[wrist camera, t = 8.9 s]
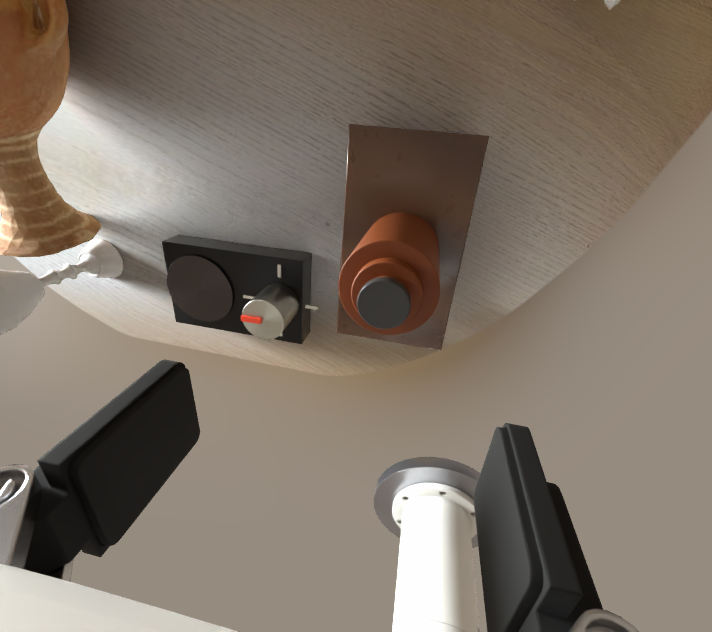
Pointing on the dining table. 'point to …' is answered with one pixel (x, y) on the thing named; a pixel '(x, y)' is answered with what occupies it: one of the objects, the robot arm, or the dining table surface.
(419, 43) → the dining table surface
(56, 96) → the jug
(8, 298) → the chalice
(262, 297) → the stove knob
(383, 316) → the bottle
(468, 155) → the shelf
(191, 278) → the burner
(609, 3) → the decorative flower
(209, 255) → the stove
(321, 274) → the dining table surface
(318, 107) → the dining table surface
